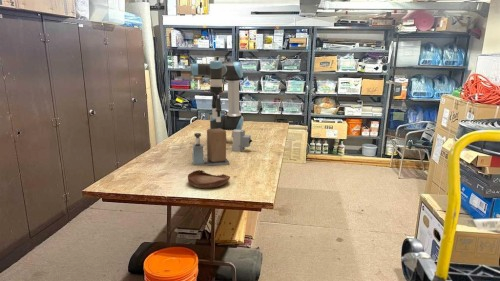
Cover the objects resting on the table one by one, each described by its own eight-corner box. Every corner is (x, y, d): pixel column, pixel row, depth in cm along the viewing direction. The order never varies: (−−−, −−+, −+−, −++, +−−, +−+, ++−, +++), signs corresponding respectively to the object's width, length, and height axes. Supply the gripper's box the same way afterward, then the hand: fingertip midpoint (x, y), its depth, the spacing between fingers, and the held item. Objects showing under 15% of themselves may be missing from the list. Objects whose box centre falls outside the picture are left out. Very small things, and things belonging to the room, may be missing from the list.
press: (192, 160, 223) (191, 143, 220) (224, 158, 229) (224, 141, 226) (194, 166, 210) (194, 148, 207) (229, 164, 215) (229, 146, 213)
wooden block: (212, 162, 213) (211, 131, 209) (206, 158, 222) (206, 128, 218) (226, 161, 218) (226, 130, 213) (220, 157, 226) (220, 127, 222)
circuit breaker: (250, 152, 246) (250, 132, 243) (231, 151, 249) (231, 131, 246) (252, 150, 253) (252, 130, 250) (234, 148, 256) (234, 129, 253)
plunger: (194, 147, 216) (194, 133, 214) (200, 147, 217) (200, 132, 215) (195, 149, 212) (194, 134, 210) (201, 148, 213) (201, 134, 211)
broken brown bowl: (231, 178, 191) (231, 169, 190) (228, 191, 172) (228, 181, 170) (192, 177, 192) (191, 168, 191) (184, 189, 172) (183, 180, 171)
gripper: (207, 84, 220) (207, 117, 225) (213, 87, 197) (214, 123, 202) (218, 84, 222) (218, 116, 227) (226, 87, 199) (226, 123, 204)
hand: (216, 120), depth 214 cm, fingers open, 13 cm apart
